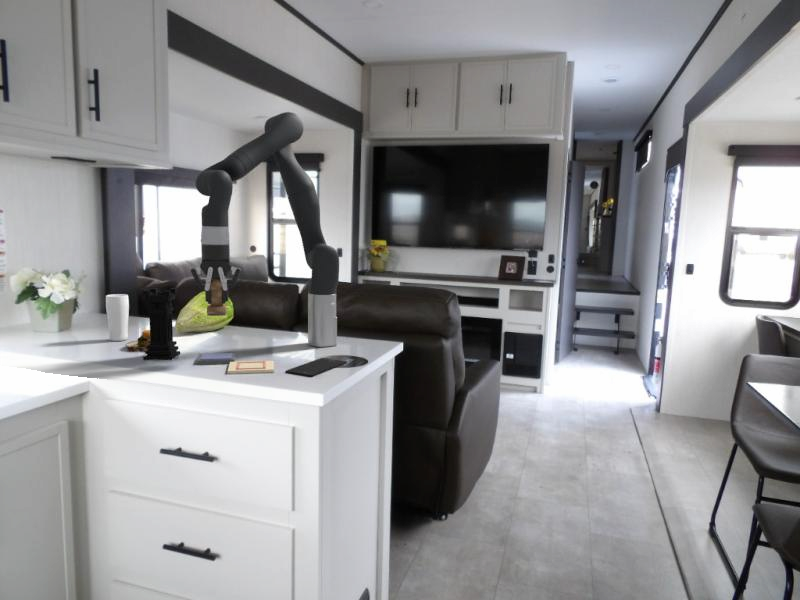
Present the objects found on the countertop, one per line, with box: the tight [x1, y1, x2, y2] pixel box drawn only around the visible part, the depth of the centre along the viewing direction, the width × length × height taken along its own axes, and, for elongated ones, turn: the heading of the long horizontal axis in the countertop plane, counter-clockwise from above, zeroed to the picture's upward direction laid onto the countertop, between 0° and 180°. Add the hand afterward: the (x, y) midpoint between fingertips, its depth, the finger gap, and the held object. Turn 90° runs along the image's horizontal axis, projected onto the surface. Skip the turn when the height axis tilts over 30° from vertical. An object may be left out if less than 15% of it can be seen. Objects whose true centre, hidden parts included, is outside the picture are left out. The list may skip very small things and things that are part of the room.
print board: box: [227, 360, 275, 375], centre depth 153 cm, size 12×10×1 cm
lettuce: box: [174, 290, 234, 333], centre depth 204 cm, size 15×24×16 cm
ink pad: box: [196, 352, 237, 366], centre depth 160 cm, size 10×8×1 cm
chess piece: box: [142, 287, 181, 361], centre depth 162 cm, size 8×8×20 cm
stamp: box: [207, 278, 227, 316], centre depth 158 cm, size 5×5×10 cm
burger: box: [124, 329, 150, 353], centre depth 174 cm, size 12×12×8 cm
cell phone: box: [285, 357, 348, 378], centre depth 156 cm, size 9×18×1 cm, turn 154°
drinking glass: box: [105, 293, 130, 342], centre depth 183 cm, size 7×7×15 cm
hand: (216, 303), depth 158 cm, fingers closed on stamp, 3 cm apart
